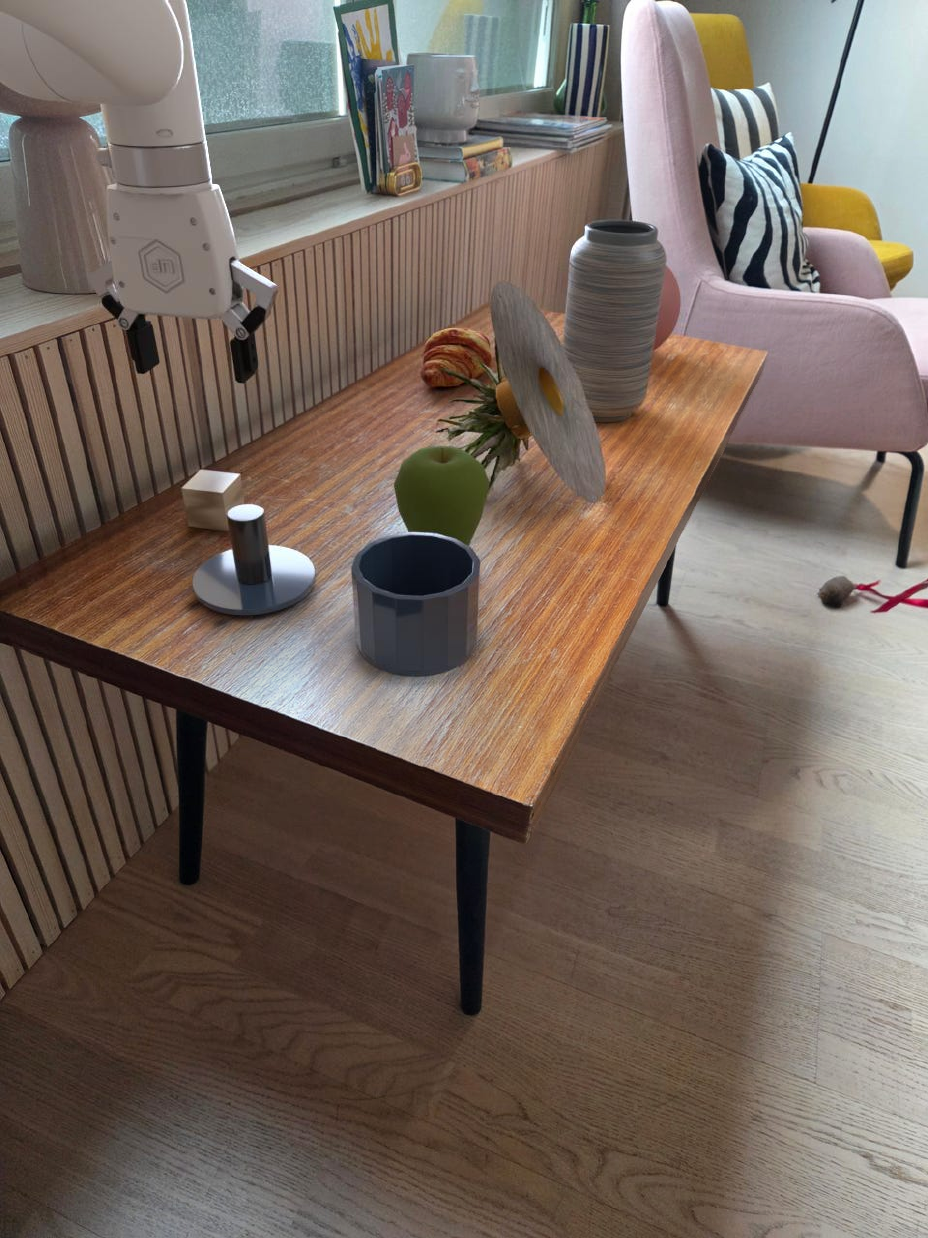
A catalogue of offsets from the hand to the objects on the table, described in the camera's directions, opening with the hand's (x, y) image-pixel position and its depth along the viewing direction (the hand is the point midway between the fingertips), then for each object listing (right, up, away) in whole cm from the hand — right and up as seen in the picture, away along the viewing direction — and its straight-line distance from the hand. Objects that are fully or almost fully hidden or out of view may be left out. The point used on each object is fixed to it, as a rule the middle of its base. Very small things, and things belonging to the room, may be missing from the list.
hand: (197, 373), depth 79 cm
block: (-1, -12, +10) cm, 16 cm away
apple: (+23, -17, +5) cm, 29 cm away
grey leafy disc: (+31, -7, +19) cm, 37 cm away
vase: (+43, +5, +36) cm, 57 cm away
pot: (+21, -24, -6) cm, 33 cm away
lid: (+6, -19, -1) cm, 20 cm away
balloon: (+49, +17, +53) cm, 74 cm away
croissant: (+24, +13, +47) cm, 55 cm away
